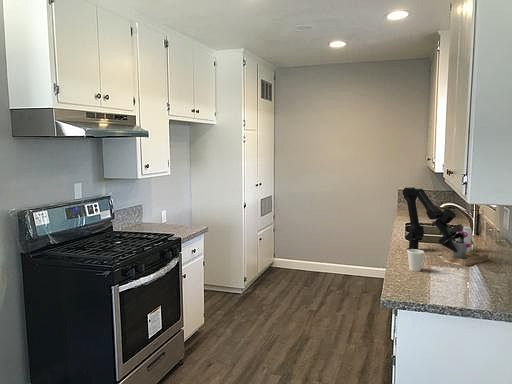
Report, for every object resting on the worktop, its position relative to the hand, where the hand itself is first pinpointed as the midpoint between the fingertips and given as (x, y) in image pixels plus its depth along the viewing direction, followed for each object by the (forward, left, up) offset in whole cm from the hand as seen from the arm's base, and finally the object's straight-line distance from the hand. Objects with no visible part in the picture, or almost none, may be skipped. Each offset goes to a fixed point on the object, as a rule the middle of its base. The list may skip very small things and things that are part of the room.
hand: (461, 250), depth 235 cm
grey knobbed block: (-1, -1, -6) cm, 6 cm away
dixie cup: (+13, -30, -7) cm, 33 cm away
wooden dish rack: (-4, +4, -7) cm, 9 cm away
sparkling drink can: (-29, +15, -7) cm, 34 cm away
